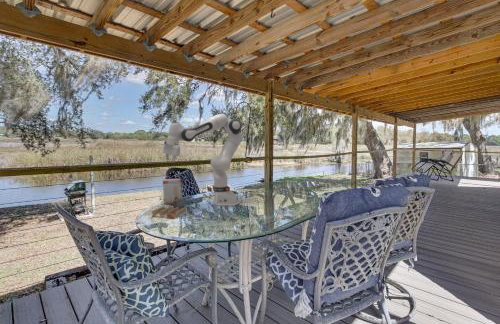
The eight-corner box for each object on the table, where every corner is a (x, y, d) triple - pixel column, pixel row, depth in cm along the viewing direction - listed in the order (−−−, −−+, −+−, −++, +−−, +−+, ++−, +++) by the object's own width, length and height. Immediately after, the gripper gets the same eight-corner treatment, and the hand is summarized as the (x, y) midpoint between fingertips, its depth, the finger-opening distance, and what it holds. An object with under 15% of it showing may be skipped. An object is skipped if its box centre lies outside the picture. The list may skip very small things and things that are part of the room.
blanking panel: (184, 206, 227) (184, 197, 226) (176, 210, 215) (176, 201, 215) (181, 206, 228) (181, 197, 227) (173, 210, 216) (172, 201, 216)
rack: (186, 212, 208) (186, 207, 208) (174, 219, 192) (174, 213, 192) (164, 210, 214) (164, 205, 214) (150, 217, 198) (150, 211, 197)
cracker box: (182, 202, 239) (181, 178, 237) (180, 204, 233) (178, 179, 231) (166, 202, 240) (165, 178, 238) (163, 204, 235) (162, 179, 232)
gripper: (183, 144, 211) (180, 162, 211) (170, 142, 226) (167, 159, 226) (176, 143, 207) (173, 161, 207) (163, 141, 221) (160, 158, 221)
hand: (170, 160), depth 216 cm, fingers open, 8 cm apart
